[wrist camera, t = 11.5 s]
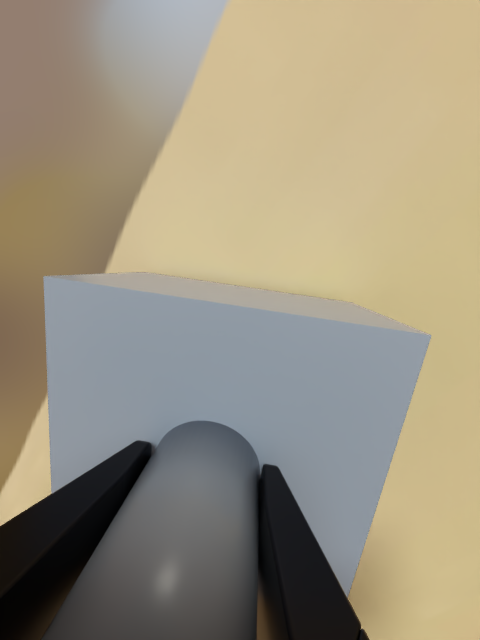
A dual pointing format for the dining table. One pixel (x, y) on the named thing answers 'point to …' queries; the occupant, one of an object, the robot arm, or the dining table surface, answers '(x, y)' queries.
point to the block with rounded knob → (215, 438)
